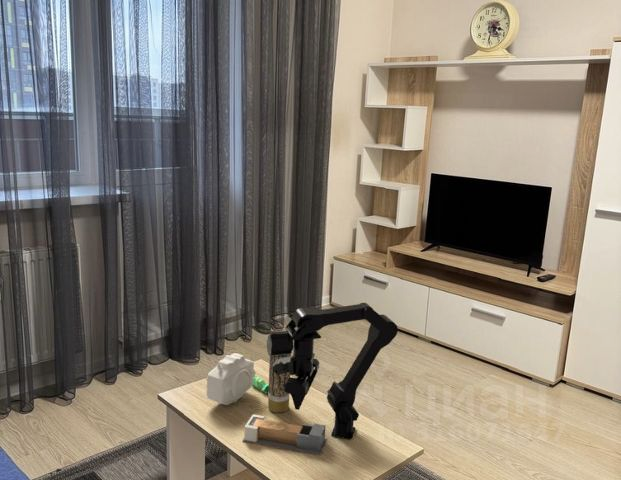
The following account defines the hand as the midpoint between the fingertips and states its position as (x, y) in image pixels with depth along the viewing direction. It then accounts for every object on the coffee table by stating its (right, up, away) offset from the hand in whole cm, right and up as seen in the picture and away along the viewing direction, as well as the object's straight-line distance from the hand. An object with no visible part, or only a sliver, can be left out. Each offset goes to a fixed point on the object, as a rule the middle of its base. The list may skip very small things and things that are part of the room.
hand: (301, 401), depth 172 cm
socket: (-14, -11, +3) cm, 18 cm away
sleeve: (+3, -13, -1) cm, 13 cm away
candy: (-15, -4, +33) cm, 37 cm away
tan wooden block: (-8, -12, +2) cm, 14 cm away
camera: (-23, -6, +23) cm, 33 cm away
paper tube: (-8, -8, +19) cm, 22 cm away
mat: (-5, -12, +1) cm, 13 cm away
